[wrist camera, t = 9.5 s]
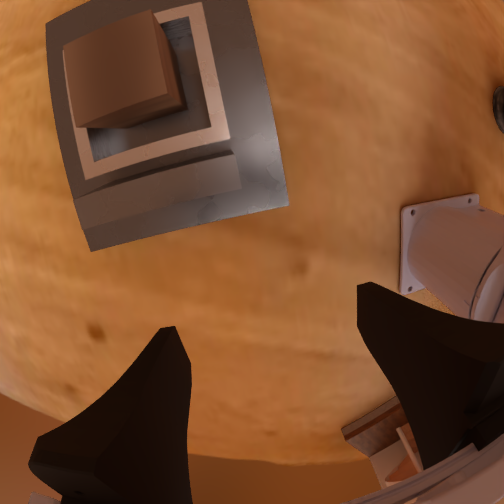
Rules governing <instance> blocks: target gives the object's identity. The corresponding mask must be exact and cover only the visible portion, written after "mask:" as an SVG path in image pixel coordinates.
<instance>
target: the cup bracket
mask: <svg viewBox="0 0 504 504" xmlns="http://www.w3.org/2000/svg"><path fill="white" fill-rule="evenodd" d="M150 9H151V10H152V12H153V14H154V16H155V17H156V19H157V21H158V22H159V24H160V26H161V28H162V29H163V31H164V33H165V35H166V36H167V38H168V40H169V42H170V43H171V45H172V47H173V49H174V50H175V52H176V57H177V61H178V66H179V71H180V75H181V80H182V84H183V89H184V93H185V98H186V102H187V106H188V110H185V111H182V112H178V113H175V114H171V115H168V116H164V117H161V118H158V119H155V120H152V121H148V122H145V123H142V124H139V125H136V126H134V127H131V128H128V129H119V128H76V125H75V121H74V116H73V110H72V105H71V100H70V94H69V88H68V81H67V74H66V67H65V58H64V49H63V46H64V45H66V44H68V43H70V42H72V41H74V40H76V39H78V38H80V37H82V36H84V35H86V34H88V33H90V32H93V31H95V30H97V29H99V28H102V27H104V26H106V25H109V24H111V23H114V22H116V21H119V20H121V19H124V18H126V17H129V16H132V15H135V14H138V13H141V12H144V11H147V10H150ZM46 50H47V64H48V75H49V84H50V92H51V99H52V106H53V112H54V118H55V124H56V129H57V135H58V139H59V144H60V149H61V153H62V158H63V162H64V166H65V170H66V174H67V178H68V182H69V185H70V189H71V192H72V196H73V199H74V200H73V202H74V205H75V208H76V211H77V215H78V218H79V221H80V224H81V227H82V230H83V231H84V234H85V237H86V239H87V242H88V245H89V248H90V251H91V252H93V251H96V250H100V249H104V248H108V247H111V246H115V245H119V244H123V243H127V242H131V241H134V240H138V239H142V238H146V237H150V236H154V235H159V234H163V233H167V232H171V231H175V230H179V229H183V228H188V227H192V226H196V225H201V224H205V223H209V222H214V221H218V220H223V219H227V218H232V217H236V216H241V215H246V214H250V213H255V212H260V211H265V210H269V209H274V208H279V207H284V206H289V200H288V194H287V188H286V182H285V176H284V170H283V165H282V159H281V154H280V148H279V143H278V137H277V132H276V127H275V122H274V117H273V112H272V107H271V102H270V97H269V92H268V87H267V83H266V78H265V73H264V69H263V64H262V60H261V55H260V51H259V47H258V42H257V38H256V34H255V30H254V26H253V21H252V17H251V13H250V9H249V5H248V2H247V0H91V1H89V2H87V3H84V4H82V5H80V6H78V7H76V8H74V9H72V10H70V11H68V12H66V13H64V14H62V15H60V16H58V17H57V18H55V19H53V20H51V21H49V22H48V23H46Z"/></svg>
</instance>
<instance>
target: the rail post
mask: <svg viewBox="0 0 504 504" xmlns="http://www.w3.org/2000/svg"><path fill="white" fill-rule="evenodd" d="M63 49H64V58H65V67H66V74H67V81H68V88H69V94H70V100H71V105H72V110H73V116H74V121H75V125H76V128H119V129H128V128H131V127H134V126H136V125H139V124H142V123H145V122H148V121H152V120H155V119H158V118H161V117H164V116H168V115H171V114H175V113H178V112H182V111H185V110H188V106H187V102H186V98H185V93H184V89H183V84H182V80H181V75H180V71H179V66H178V61H177V57H176V52H175V50H174V49H173V47H172V45H171V43H170V42H169V40H168V38H167V36H166V35H165V33H164V31H163V29H162V28H161V26H160V24H159V22H158V21H157V19H156V17H155V16H154V14H153V12H152V10H151V9H150V10H147V11H144V12H141V13H138V14H135V15H132V16H129V17H126V18H124V19H121V20H119V21H116V22H114V23H111V24H109V25H106V26H104V27H102V28H99V29H97V30H95V31H93V32H90V33H88V34H86V35H84V36H82V37H80V38H78V39H76V40H74V41H72V42H70V43H68V44H66V45H64V46H63Z"/></svg>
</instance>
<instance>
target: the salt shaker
mask: <svg viewBox="0 0 504 504" xmlns="http://www.w3.org/2000/svg"><path fill="white" fill-rule="evenodd" d="M493 111H494V116H495V119H496V122H497V124H498V126H499V129H500V130H501V131H502V133H504V86H499V87H498V88H496V90H495V92H494V96H493Z"/></svg>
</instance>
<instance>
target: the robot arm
mask: <svg viewBox="0 0 504 504" xmlns="http://www.w3.org/2000/svg"><path fill="white" fill-rule="evenodd" d="M468 200H469V201H468ZM412 210H413V213H412V214H411V211H412ZM409 287H410V288H409ZM408 288H409V289H408ZM424 288H427V289H428V290H429V291H430V292H431V293H432V294H433V295H435V296H436V297H437V298H438V299H439V300H440V301H441V302H442V303H443V304H445V305H446V306H447V307H448V308H449V309H450V310H451V311H452V312H453V313H454V314H455V315H456V316H454V315H451V314H448V313H444V312H441V311H438V310H435V309H432V308H430V307H427V306H425V305H422V304H420V303H417V302H415V301H413V300H410V299H408V298H406V297H404V296H402V295H406V294H409V293H412V292H415V291H418V290H421V289H424ZM399 292H400V293H401V294H402V295H399V294H397V293H395V292H393V291H391V290H389V289H387V288H385V287H382V286H380V285H378V284H376V283H373V282H367V283H364V284H360V285H357V327H358V329H359V332H360V334H361V336H362V338H363V340H364V342H365V344H366V346H367V348H368V349H369V351H370V353H371V354H372V356H373V357H374V359H375V360H376V362H377V363H378V365H379V366H380V368H381V370H382V371H383V373H384V374H385V376H386V377H387V379H388V381H389V382H390V384H391V385H392V387H393V389H394V391H395V393H396V395H397V397H398V399H399V401H400V404H401V406H402V408H403V410H404V413H405V415H406V418H407V420H408V423H409V425H410V428H411V430H412V433H413V436H414V439H415V442H416V445H417V448H418V451H419V455H420V458H421V462H422V465H423V470H424V471H422V472H420V473H418V474H416V475H414V476H412V477H410V478H407V479H405V480H403V481H401V482H398V483H396V484H394V485H391V486H389V487H387V488H384V489H381V490H379V491H377V492H374V493H371V494H368V495H366V496H363V497H360V498H357V499H354V500H351V501H348V502H344V503H341V504H404V503H406V502H408V501H410V500H412V499H415V498H417V497H418V498H417V500H416V502H414V503H412V504H495V503H496V502H498V501H499V500H500V499H501V498H503V497H504V215H501V214H499V213H497V212H495V211H492V210H490V209H488V208H485V207H483V206H480V205H479V195H478V194H475V193H473V194H468V195H462V196H457V197H452V198H447V199H441V200H436V201H431V202H426V203H421V204H415V205H410V206H406V207H404V208H403V209H402V211H401V268H400V287H399ZM191 387H192V376H191V362H190V360H189V358H188V356H187V353H186V351H185V349H184V346H183V344H182V342H181V339H180V337H179V335H178V332H177V330H176V327H175V326H171V327H165V328H160V329H159V331H158V332H157V333H156V334H155V335H154V337H153V338H152V339H151V341H150V342H149V343H148V345H147V346H146V347H145V348H144V350H143V351H142V352H141V354H140V355H139V356H138V357H137V359H136V360H135V361H134V362H133V364H132V365H131V366H130V367H129V368H128V369H127V371H126V372H125V373H124V374H123V375H122V376H121V377H120V379H119V380H118V381H117V382H116V383H115V384H114V385H113V386H112V387H111V388H110V389H109V390H108V391H107V392H106V393H105V394H103V395H102V396H101V397H100V398H99V399H98V400H96V401H95V402H94V403H93V404H91V405H90V406H89V407H88V408H86V409H85V410H84V411H83V412H81V413H80V414H78V415H77V416H75V417H74V418H72V419H71V420H69V421H68V422H66V423H64V424H63V425H61V426H59V427H58V428H55V429H54V430H52V431H50V432H48V433H46V434H44V435H42V436H39V437H38V438H37V441H36V443H35V446H34V449H33V451H32V454H31V457H30V460H29V463H28V465H29V468H30V470H31V471H32V473H33V474H34V475H35V476H37V477H38V478H39V479H40V480H41V481H43V482H44V483H45V484H47V485H48V486H49V487H51V488H52V489H54V490H55V491H57V492H58V493H59V494H61V495H62V500H61V502H60V501H58V500H56V499H54V498H51V497H48V496H45V495H41V494H39V493H36V492H32V493H31V496H30V500H29V503H28V504H193V502H192V495H191V488H190V480H189V469H188V454H187V428H188V418H189V408H190V398H191Z"/></svg>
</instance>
